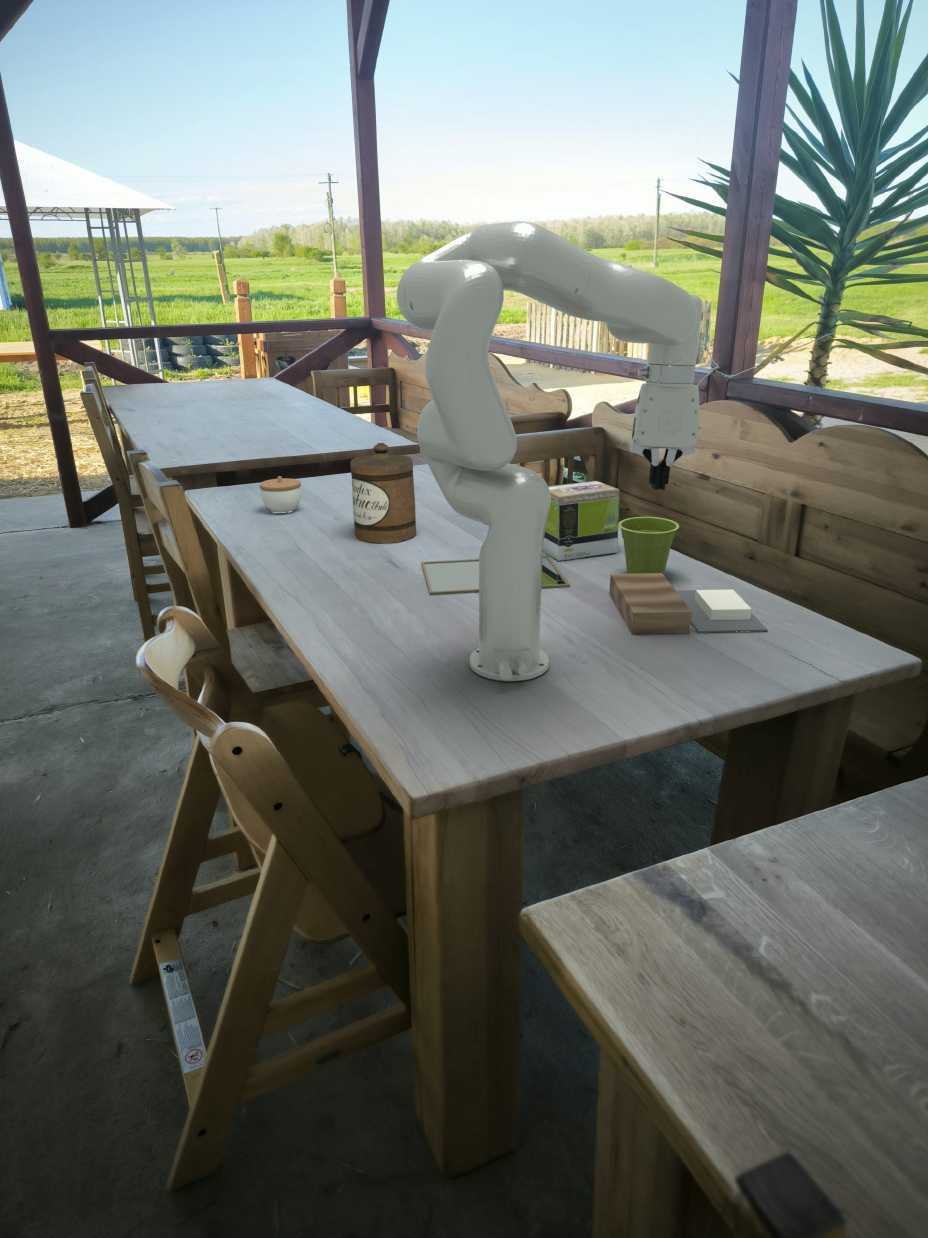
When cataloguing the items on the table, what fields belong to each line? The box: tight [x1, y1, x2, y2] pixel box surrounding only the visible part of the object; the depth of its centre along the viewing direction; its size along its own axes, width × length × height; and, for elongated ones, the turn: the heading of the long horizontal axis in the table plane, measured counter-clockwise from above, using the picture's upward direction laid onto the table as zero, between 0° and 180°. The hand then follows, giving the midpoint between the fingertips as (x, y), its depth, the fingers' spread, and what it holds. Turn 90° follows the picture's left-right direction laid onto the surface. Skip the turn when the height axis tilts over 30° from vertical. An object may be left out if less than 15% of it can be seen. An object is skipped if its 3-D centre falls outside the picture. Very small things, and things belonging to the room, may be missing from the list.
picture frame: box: [420, 554, 571, 596], centre depth 169 cm, size 19×1×28 cm
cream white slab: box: [695, 588, 753, 620], centre depth 149 cm, size 10×7×2 cm
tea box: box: [543, 480, 621, 562], centre depth 180 cm, size 15×10×15 cm
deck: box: [608, 573, 692, 635], centre depth 148 cm, size 20×10×4 cm, turn 2°
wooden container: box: [349, 442, 417, 544], centre depth 193 cm, size 15×15×22 cm
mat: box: [675, 588, 768, 634], centre depth 149 cm, size 20×12×1 cm, turn 2°
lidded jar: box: [259, 475, 302, 513], centre depth 217 cm, size 11×11×9 cm
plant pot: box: [618, 516, 680, 576], centre depth 165 cm, size 12×12×11 cm
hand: (657, 488), depth 138 cm, fingers closed
